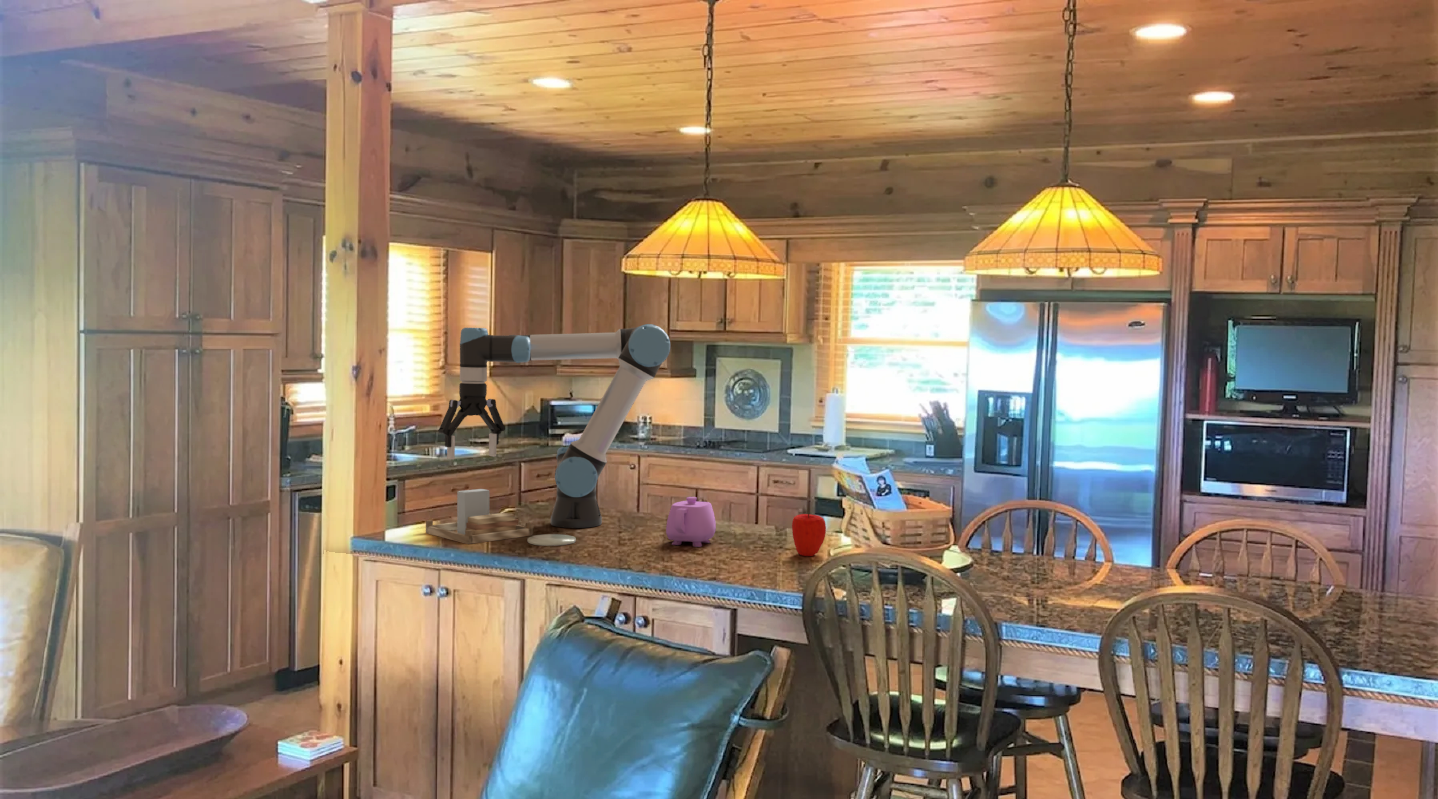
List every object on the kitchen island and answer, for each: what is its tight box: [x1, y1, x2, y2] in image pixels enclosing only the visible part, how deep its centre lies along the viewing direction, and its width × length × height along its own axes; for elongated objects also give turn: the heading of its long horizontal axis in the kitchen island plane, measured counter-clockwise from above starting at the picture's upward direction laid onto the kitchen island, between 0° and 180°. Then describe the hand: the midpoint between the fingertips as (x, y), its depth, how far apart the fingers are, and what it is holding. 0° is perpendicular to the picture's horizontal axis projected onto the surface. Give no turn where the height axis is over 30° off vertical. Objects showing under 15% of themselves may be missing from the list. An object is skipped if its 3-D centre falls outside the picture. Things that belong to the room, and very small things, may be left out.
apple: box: [791, 513, 827, 557], centre depth 301 cm, size 9×9×11 cm
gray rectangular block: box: [456, 488, 491, 535], centre depth 326 cm, size 8×4×12 cm, turn 134°
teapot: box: [665, 496, 717, 548], centre depth 315 cm, size 20×12×13 cm, turn 160°
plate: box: [527, 533, 577, 547], centre depth 314 cm, size 13×13×1 cm
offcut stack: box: [466, 512, 519, 535], centre depth 319 cm, size 14×5×6 cm, turn 134°
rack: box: [425, 512, 534, 545], centre depth 324 cm, size 21×22×4 cm
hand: (471, 457), depth 325 cm, fingers open, 13 cm apart
